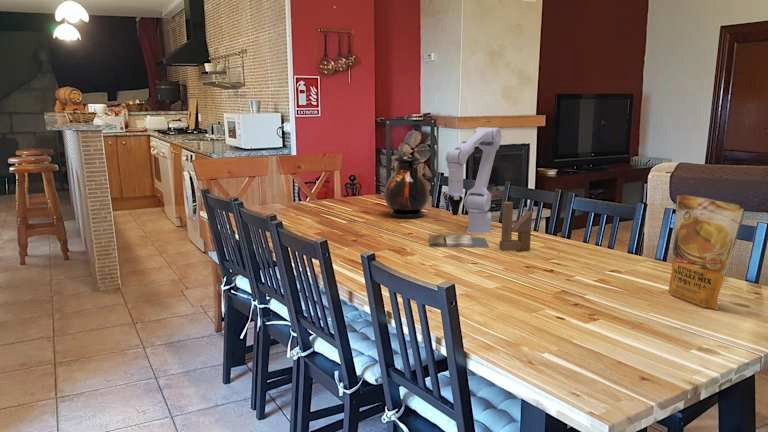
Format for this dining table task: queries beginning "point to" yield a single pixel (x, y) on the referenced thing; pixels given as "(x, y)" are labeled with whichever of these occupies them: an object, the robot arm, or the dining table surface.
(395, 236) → the dining table surface
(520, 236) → the brown wooden upright frame
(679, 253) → the pancake mix bag
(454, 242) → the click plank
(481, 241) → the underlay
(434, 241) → the laid plank
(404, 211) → the amphora vase
